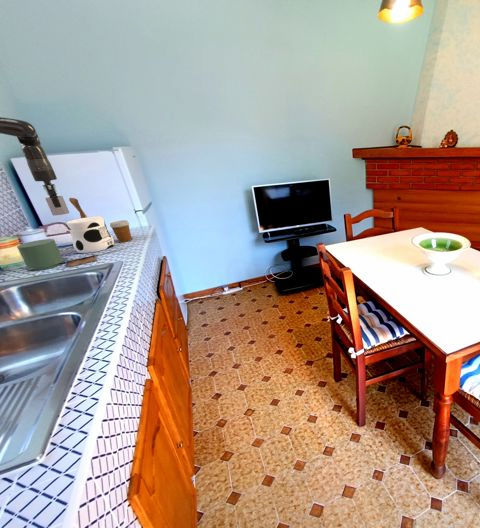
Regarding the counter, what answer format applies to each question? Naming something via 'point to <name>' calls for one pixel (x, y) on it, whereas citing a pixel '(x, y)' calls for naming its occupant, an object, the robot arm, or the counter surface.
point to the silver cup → (59, 210)
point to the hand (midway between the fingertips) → (57, 206)
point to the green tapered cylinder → (40, 254)
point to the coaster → (81, 261)
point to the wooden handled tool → (77, 207)
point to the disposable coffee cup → (121, 230)
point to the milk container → (90, 235)
